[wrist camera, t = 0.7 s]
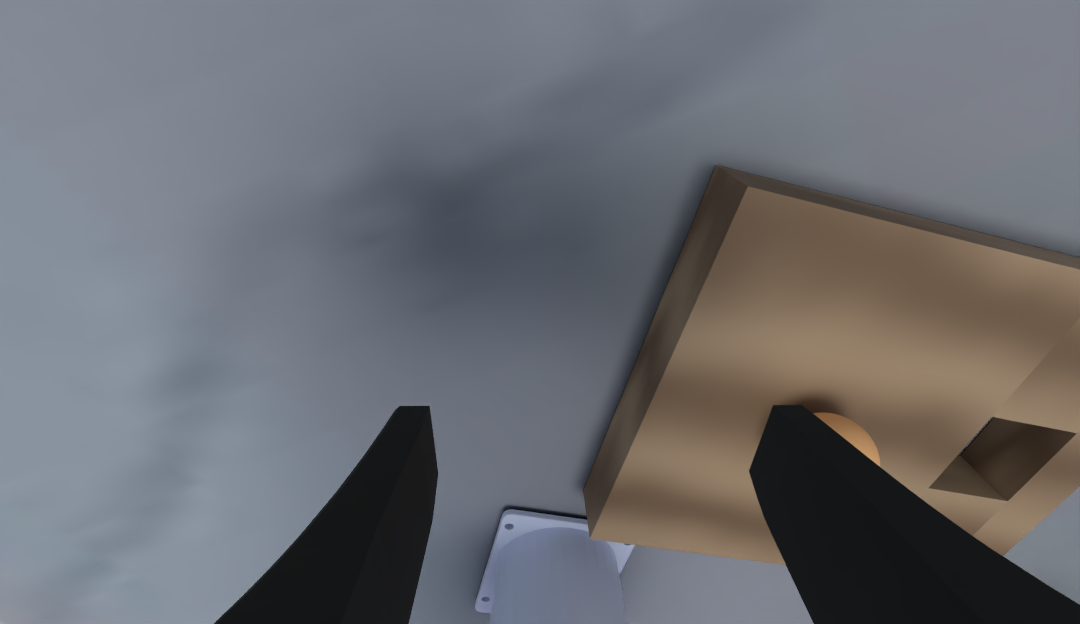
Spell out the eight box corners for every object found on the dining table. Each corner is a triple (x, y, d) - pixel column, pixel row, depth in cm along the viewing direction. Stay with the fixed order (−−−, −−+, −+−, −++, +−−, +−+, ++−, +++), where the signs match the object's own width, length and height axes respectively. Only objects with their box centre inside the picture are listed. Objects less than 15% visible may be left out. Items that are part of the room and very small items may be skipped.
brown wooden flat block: (928, 541, 30) (966, 589, 28) (583, 490, 27) (589, 538, 24) (1176, 282, 22) (1265, 316, 19) (716, 165, 19) (748, 186, 16)
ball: (820, 461, 22) (868, 529, 19) (750, 449, 22) (787, 517, 19) (863, 402, 21) (922, 466, 18) (787, 388, 20) (835, 451, 17)
